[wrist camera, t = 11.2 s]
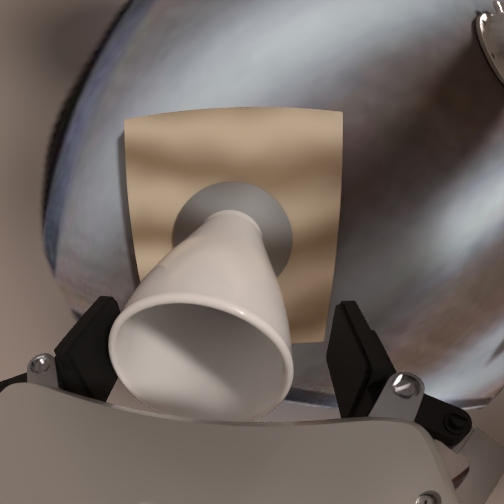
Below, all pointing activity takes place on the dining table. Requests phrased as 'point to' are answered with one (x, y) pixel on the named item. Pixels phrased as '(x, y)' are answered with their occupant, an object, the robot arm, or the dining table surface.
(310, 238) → the serving board
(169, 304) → the drinking glass
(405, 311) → the dining table surface
